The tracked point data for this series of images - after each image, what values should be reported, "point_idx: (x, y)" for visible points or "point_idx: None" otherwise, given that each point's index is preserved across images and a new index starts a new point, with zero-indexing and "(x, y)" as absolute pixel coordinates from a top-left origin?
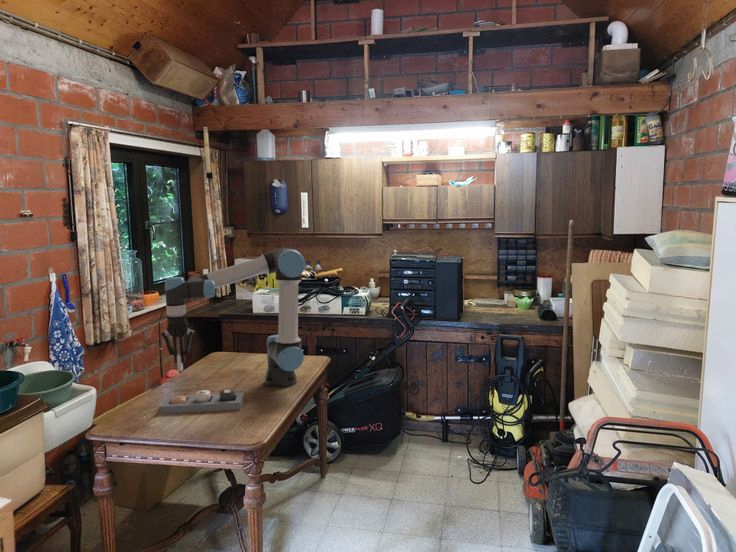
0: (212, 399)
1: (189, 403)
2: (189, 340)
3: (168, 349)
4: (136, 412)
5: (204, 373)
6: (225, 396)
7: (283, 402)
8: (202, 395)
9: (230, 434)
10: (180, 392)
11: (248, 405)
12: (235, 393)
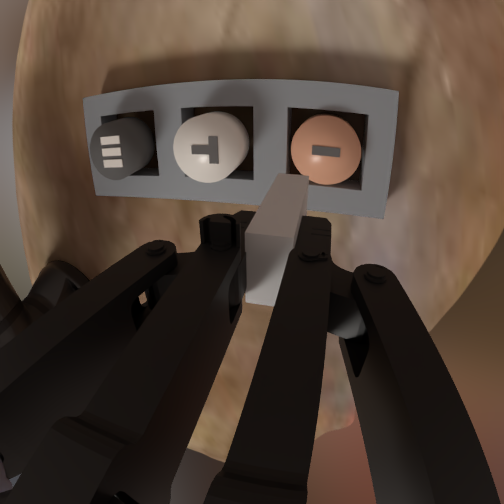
0: None
1: (268, 101)
2: (4, 352)
3: (414, 321)
4: (482, 146)
5: None
6: (117, 120)
7: (26, 152)
8: (200, 115)
9: None
10: None
11: None
12: (116, 190)
